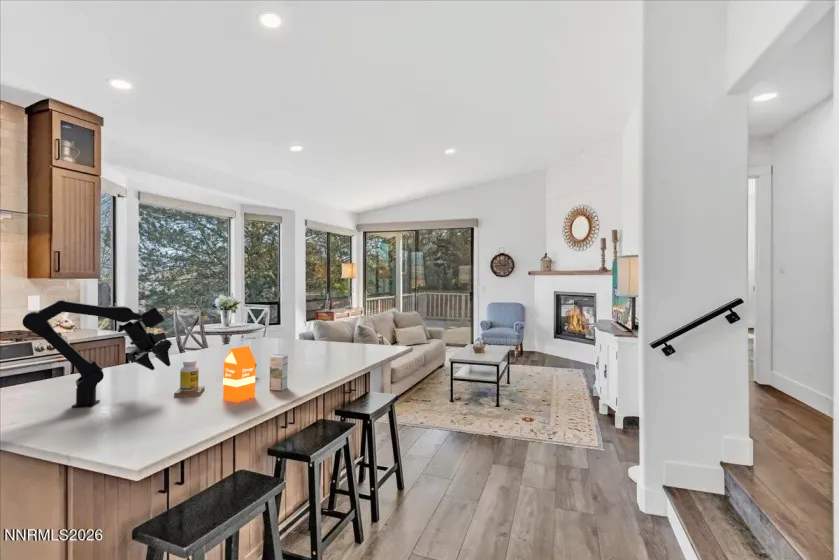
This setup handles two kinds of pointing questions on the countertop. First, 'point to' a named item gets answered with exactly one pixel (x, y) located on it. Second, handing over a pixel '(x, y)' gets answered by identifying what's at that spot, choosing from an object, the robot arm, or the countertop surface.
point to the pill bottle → (189, 376)
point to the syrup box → (278, 372)
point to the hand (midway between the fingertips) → (161, 367)
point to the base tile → (189, 392)
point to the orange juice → (239, 375)
